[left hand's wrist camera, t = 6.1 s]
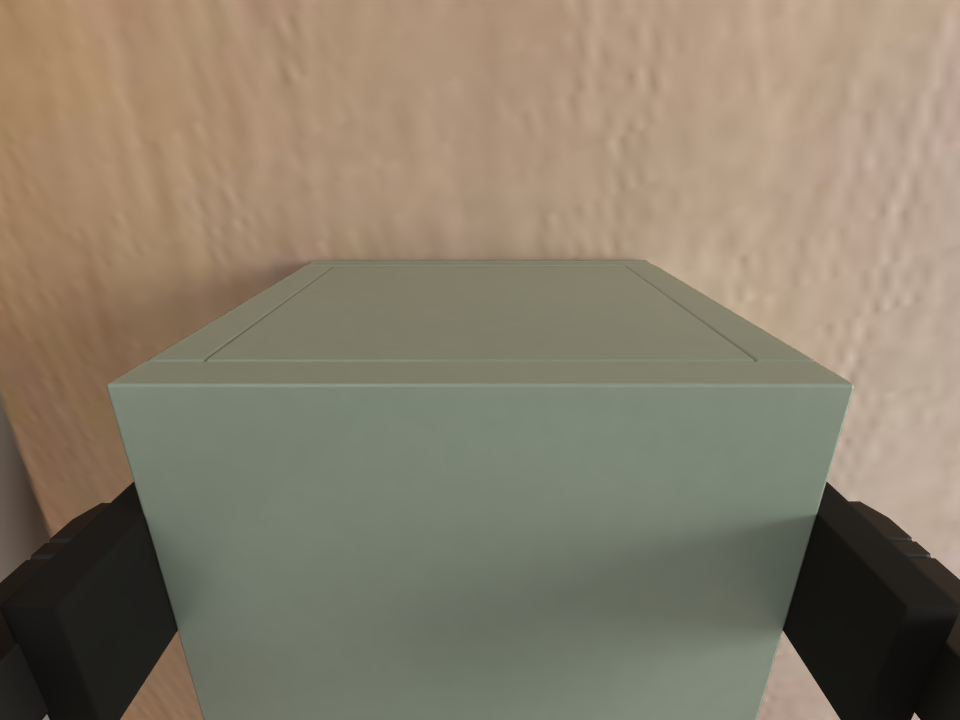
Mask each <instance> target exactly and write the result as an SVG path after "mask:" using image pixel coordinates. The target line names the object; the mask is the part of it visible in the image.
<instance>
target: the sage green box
mask: <svg viewBox="0 0 960 720" xmlns="http://www.w3.org/2000/svg"><path fill="white" fill-rule="evenodd" d="M853 389H854V385H853V384H852V383H851V382H849V381H847V380H846V379H844V378H842V377H841V376H839V375H837V374H836V373H834V372H832V371H831V370H829V369H827V368H826V367H824V366H822V365H821V364H819V363H817V362H814V360H813V359H811V358H809V357H808V356H806V355H804V354H803V353H801V352H799V351H798V350H796V349H794V348H793V347H791V346H789V345H788V344H786V343H784V342H783V341H781V340H779V339H778V338H776V337H774V336H773V335H771V334H769V333H768V332H766V331H764V330H763V329H761V328H759V327H758V326H756V325H754V324H753V323H751V322H749V321H747V320H746V319H744V318H742V317H741V316H739V315H737V314H736V313H734V312H732V311H731V310H729V309H727V308H726V307H724V306H722V305H721V304H719V303H717V302H716V301H714V300H712V299H711V298H709V297H707V296H706V295H704V294H702V293H701V292H699V291H697V290H696V289H694V288H692V287H691V286H689V285H687V284H685V283H684V282H682V281H680V280H679V279H677V278H675V277H674V276H672V275H670V274H669V273H667V272H665V271H664V270H662V269H660V268H659V267H657V266H654V265H653V264H651V263H649V262H648V261H645V260H315V261H313V262H311V263H309V264H308V265H306V266H304V267H302V268H301V269H299V270H297V271H296V272H294V273H292V274H291V275H289V276H287V277H286V278H284V279H282V280H281V281H279V282H277V283H276V284H274V285H272V286H271V287H269V288H267V289H266V290H264V291H262V292H261V293H259V294H257V295H256V296H254V297H252V298H251V299H249V300H247V301H246V302H244V303H242V304H241V305H239V306H237V307H236V308H234V309H232V310H231V311H229V312H227V313H226V314H224V315H222V316H221V317H219V318H217V319H216V320H214V321H212V322H211V323H209V324H207V325H206V326H204V327H202V328H201V329H199V330H197V331H196V332H194V333H192V334H191V335H189V336H187V337H186V338H184V339H182V340H181V341H179V342H177V343H176V344H174V345H172V346H171V347H169V348H167V349H166V350H164V351H162V352H161V353H159V354H158V355H156V356H154V357H153V358H151V359H149V360H148V362H143V363H142V364H140V365H138V366H137V367H135V368H133V369H132V370H130V371H128V372H127V373H125V374H123V375H122V376H120V377H118V378H117V379H115V380H113V381H112V382H110V383H108V384H107V390H108V394H109V397H110V400H111V404H112V407H113V411H114V414H115V417H116V421H117V424H118V428H119V431H120V435H121V438H122V441H123V445H124V448H125V452H126V455H127V459H128V462H129V465H130V469H131V472H132V476H133V479H134V482H135V486H136V489H137V493H138V496H139V500H140V503H141V506H142V510H143V513H144V517H145V520H146V524H147V527H148V530H149V534H150V537H151V541H152V544H153V547H154V551H155V554H156V558H157V561H158V565H159V568H160V571H161V575H162V578H163V582H164V585H165V589H166V592H167V595H168V599H169V602H170V606H171V609H172V612H173V616H174V619H175V623H176V626H177V630H178V633H179V636H180V640H181V643H182V647H183V650H184V654H185V657H186V660H187V664H188V667H189V671H190V674H191V677H192V681H193V684H194V688H195V691H196V695H197V698H198V701H199V705H200V708H201V712H202V715H203V719H204V720H757V716H758V713H759V710H760V706H761V703H762V699H763V696H764V693H765V689H766V686H767V682H768V679H769V676H770V672H771V669H772V665H773V662H774V659H775V655H776V652H777V648H778V645H779V641H780V638H781V635H782V631H783V628H784V624H785V621H786V618H787V614H788V611H789V607H790V604H791V601H792V597H793V594H794V590H795V587H796V584H797V580H798V577H799V573H800V570H801V566H802V563H803V560H804V556H805V553H806V549H807V546H808V543H809V539H810V536H811V532H812V529H813V526H814V522H815V519H816V515H817V512H818V509H819V505H820V502H821V498H822V495H823V491H824V488H825V485H826V481H827V478H828V474H829V471H830V468H831V464H832V461H833V457H834V454H835V451H836V447H837V444H838V440H839V437H840V434H841V430H842V427H843V423H844V420H845V417H846V413H847V410H848V406H849V403H850V399H851V396H852V393H853Z"/></svg>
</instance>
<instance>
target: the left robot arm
mask: <svg viewBox="0 0 960 720" xmlns="http://www.w3.org/2000/svg"><path fill="white" fill-rule="evenodd" d="M783 631H784V633H785V634H786V636H787V637H788V639H789V640H790V642H791V643H792V645H793V647H794V648H795V650H796V651H797V653H798V654H799V656H800V657H801V659H802V661H803V662H804V664H805V665H806V667H807V668H808V670H809V671H810V673H811V674H812V676H813V678H814V679H815V681H816V682H817V684H818V685H819V687H820V688H821V690H822V692H823V693H824V695H825V696H826V698H827V699H828V701H829V702H830V704H831V705H832V707H833V709H834V710H835V712H836V713H837V715H838V716H839V718H840V719H841V720H911V719H912V716H913V714H914V712H915V713H916V714H917V716H918V717H919V718H920V720H960V580H959V579H958V578H957V577H956V576H955V575H954V574H952V573H951V572H950V571H949V570H948V569H947V568H946V567H944V566H943V565H942V564H941V563H940V562H939V561H938V560H936V559H935V558H931V557H930V553H928V552H927V551H926V550H925V549H924V548H923V547H922V546H920V545H919V544H918V543H917V542H913V541H912V540H911V537H910V536H909V535H908V534H907V533H906V532H904V531H903V530H902V529H901V528H900V527H899V526H897V525H896V524H895V523H894V522H893V521H892V520H891V519H889V518H888V517H886V516H884V515H883V514H881V513H879V512H877V511H876V510H874V509H872V508H870V507H869V506H867V505H865V504H863V503H862V502H848V501H847V500H846V499H845V498H844V497H843V496H842V495H841V494H840V493H839V492H838V491H836V490H835V489H834V488H833V487H832V486H831V485H830V484H829V483H828V482H827V481H826V485H825V488H824V491H823V495H822V498H821V502H820V505H819V509H818V512H817V515H816V519H815V522H814V526H813V529H812V532H811V536H810V539H809V543H808V546H807V549H806V553H805V556H804V560H803V563H802V566H801V570H800V573H799V577H798V580H797V584H796V587H795V590H794V594H793V597H792V601H791V604H790V607H789V611H788V614H787V618H786V621H785V624H784V628H783ZM176 632H177V626H176V623H175V619H174V616H173V612H172V609H171V606H170V602H169V599H168V595H167V592H166V589H165V585H164V582H163V578H162V575H161V571H160V568H159V565H158V561H157V558H156V554H155V551H154V547H153V544H152V541H151V537H150V534H149V530H148V527H147V524H146V520H145V517H144V513H143V510H142V506H141V503H140V500H139V496H138V493H137V489H136V486H135V482H133V483H132V484H131V485H130V486H128V487H127V488H126V489H125V490H124V491H123V492H122V493H121V494H120V495H119V496H118V497H117V498H115V499H114V500H113V501H112V502H111V503H101V504H99V505H97V506H95V507H94V508H92V509H90V510H88V511H87V512H85V513H83V514H81V515H80V516H78V517H76V518H74V519H73V520H71V521H70V522H69V523H68V524H67V525H66V526H65V527H63V528H62V529H61V530H60V531H59V532H58V533H57V534H56V535H54V536H53V537H52V538H51V539H50V543H45V544H44V545H43V546H42V547H41V548H40V549H38V550H37V551H36V552H35V553H34V554H33V555H32V556H31V559H30V560H26V561H25V562H24V563H23V564H21V565H20V566H19V567H18V568H17V569H16V570H15V571H13V572H12V573H11V574H10V575H9V576H8V577H7V578H5V579H4V580H3V581H2V582H1V583H0V720H42V719H43V718H44V717H45V716H46V714H47V715H48V717H49V719H50V720H120V719H121V717H122V716H123V714H124V713H125V711H126V709H127V708H128V706H129V705H130V703H131V702H132V700H133V699H134V697H135V695H136V694H137V692H138V691H139V689H140V688H141V686H142V685H143V683H144V682H145V680H146V678H147V677H148V675H149V674H150V672H151V671H152V669H153V668H154V666H155V664H156V663H157V661H158V660H159V658H160V657H161V655H162V654H163V652H164V651H165V649H166V647H167V646H168V644H169V643H170V641H171V640H172V638H173V637H174V635H175V633H176Z"/></svg>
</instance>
